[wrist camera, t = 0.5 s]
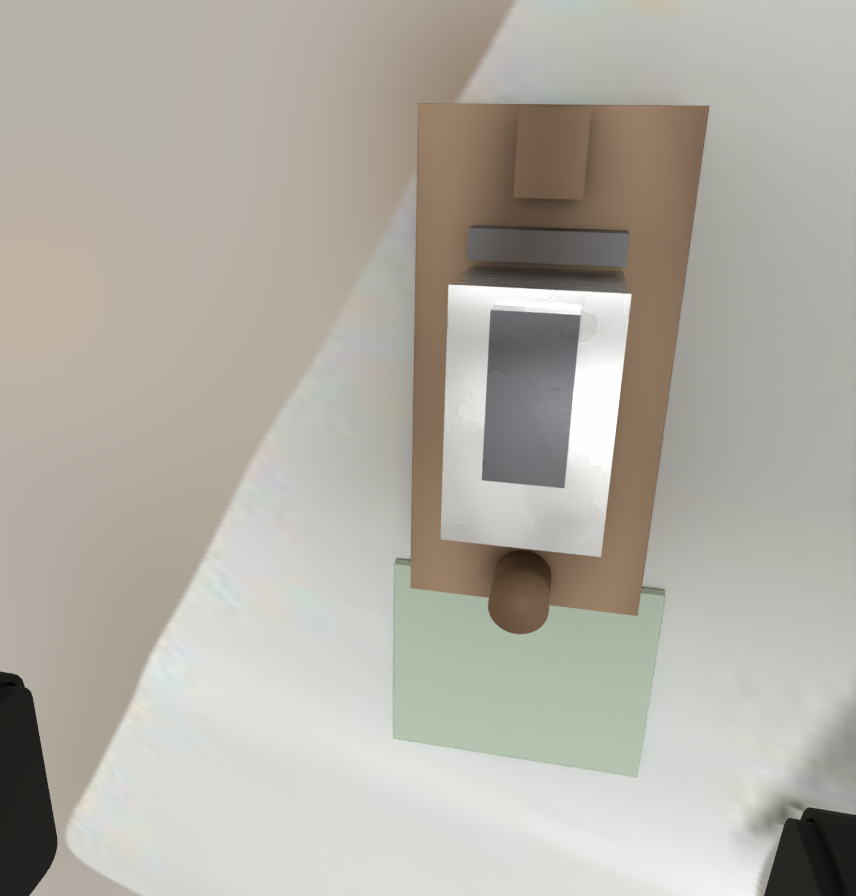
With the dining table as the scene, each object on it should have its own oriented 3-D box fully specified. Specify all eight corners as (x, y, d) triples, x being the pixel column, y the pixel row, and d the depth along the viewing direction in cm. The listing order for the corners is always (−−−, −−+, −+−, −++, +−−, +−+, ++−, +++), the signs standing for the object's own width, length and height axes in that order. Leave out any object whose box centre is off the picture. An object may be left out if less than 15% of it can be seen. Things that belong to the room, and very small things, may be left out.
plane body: (691, 115, 26) (726, 96, 20) (631, 565, 33) (643, 663, 26) (440, 112, 28) (396, 94, 21) (429, 543, 34) (392, 629, 28)
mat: (664, 589, 33) (665, 595, 32) (636, 769, 36) (637, 777, 36) (397, 559, 35) (394, 564, 34) (395, 731, 38) (393, 738, 38)
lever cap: (622, 271, 25) (633, 298, 19) (598, 492, 28) (601, 569, 22) (472, 264, 26) (443, 288, 20) (463, 479, 28) (435, 551, 23)
